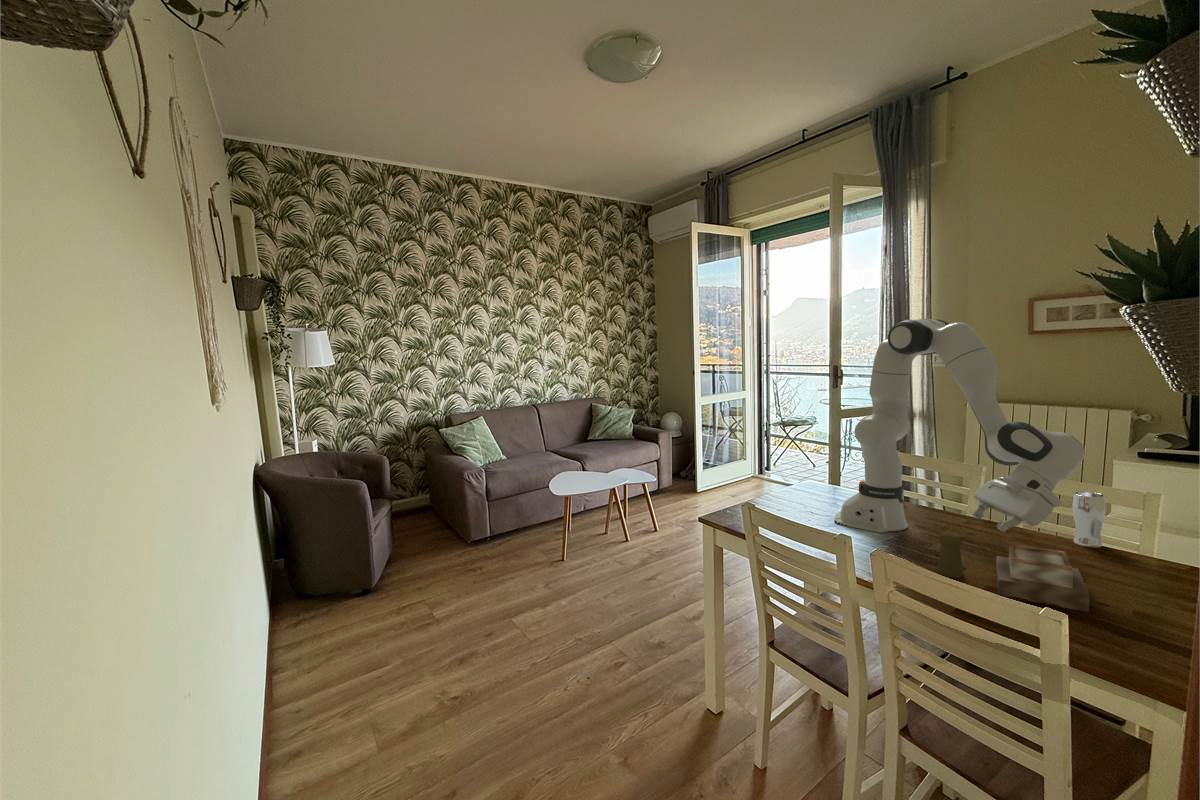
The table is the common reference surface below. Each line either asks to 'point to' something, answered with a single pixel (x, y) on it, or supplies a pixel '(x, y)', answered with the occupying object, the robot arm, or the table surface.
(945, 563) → the cork
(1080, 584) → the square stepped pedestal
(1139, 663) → the table surface
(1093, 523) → the beer glass
